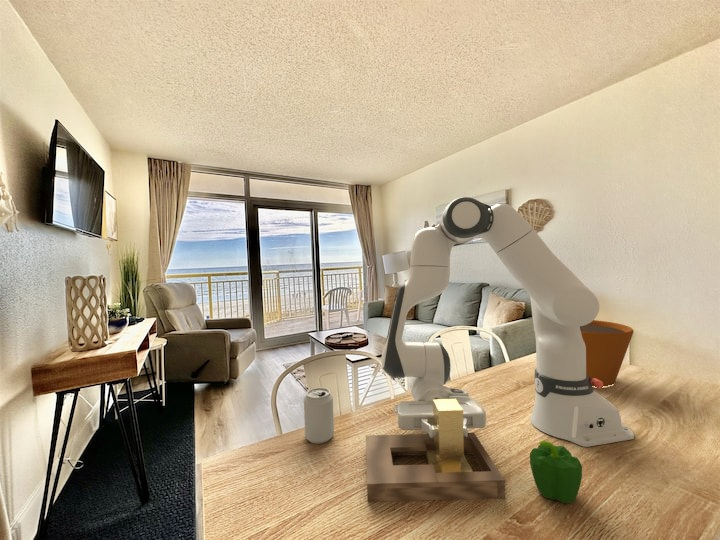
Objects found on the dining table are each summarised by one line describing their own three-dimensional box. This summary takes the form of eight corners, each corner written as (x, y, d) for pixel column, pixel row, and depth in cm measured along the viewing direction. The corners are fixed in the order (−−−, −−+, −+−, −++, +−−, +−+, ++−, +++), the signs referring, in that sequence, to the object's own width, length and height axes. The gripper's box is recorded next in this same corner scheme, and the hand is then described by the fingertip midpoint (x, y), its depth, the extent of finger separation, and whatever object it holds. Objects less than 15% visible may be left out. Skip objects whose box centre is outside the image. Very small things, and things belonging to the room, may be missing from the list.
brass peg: (461, 455, 70) (460, 395, 70) (474, 481, 62) (472, 413, 62) (426, 456, 70) (424, 396, 70) (434, 482, 62) (433, 414, 62)
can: (329, 447, 76) (327, 398, 75) (300, 444, 77) (298, 397, 77) (337, 430, 83) (336, 386, 83) (311, 428, 85) (309, 385, 84)
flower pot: (604, 400, 95) (604, 336, 95) (535, 374, 118) (535, 322, 117) (649, 386, 104) (649, 328, 103) (578, 365, 126) (577, 316, 126)
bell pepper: (578, 486, 61) (578, 436, 60) (585, 517, 53) (585, 460, 53) (530, 472, 65) (529, 426, 64) (530, 500, 57) (529, 447, 57)
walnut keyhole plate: (474, 446, 74) (473, 432, 74) (505, 498, 58) (505, 480, 58) (366, 449, 74) (365, 435, 74) (367, 501, 58) (367, 483, 58)
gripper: (392, 392, 79) (399, 420, 65) (472, 390, 79) (496, 417, 65) (393, 416, 79) (400, 449, 65) (473, 414, 79) (497, 447, 65)
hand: (449, 433), depth 65 cm, fingers closed on brass peg, 5 cm apart
